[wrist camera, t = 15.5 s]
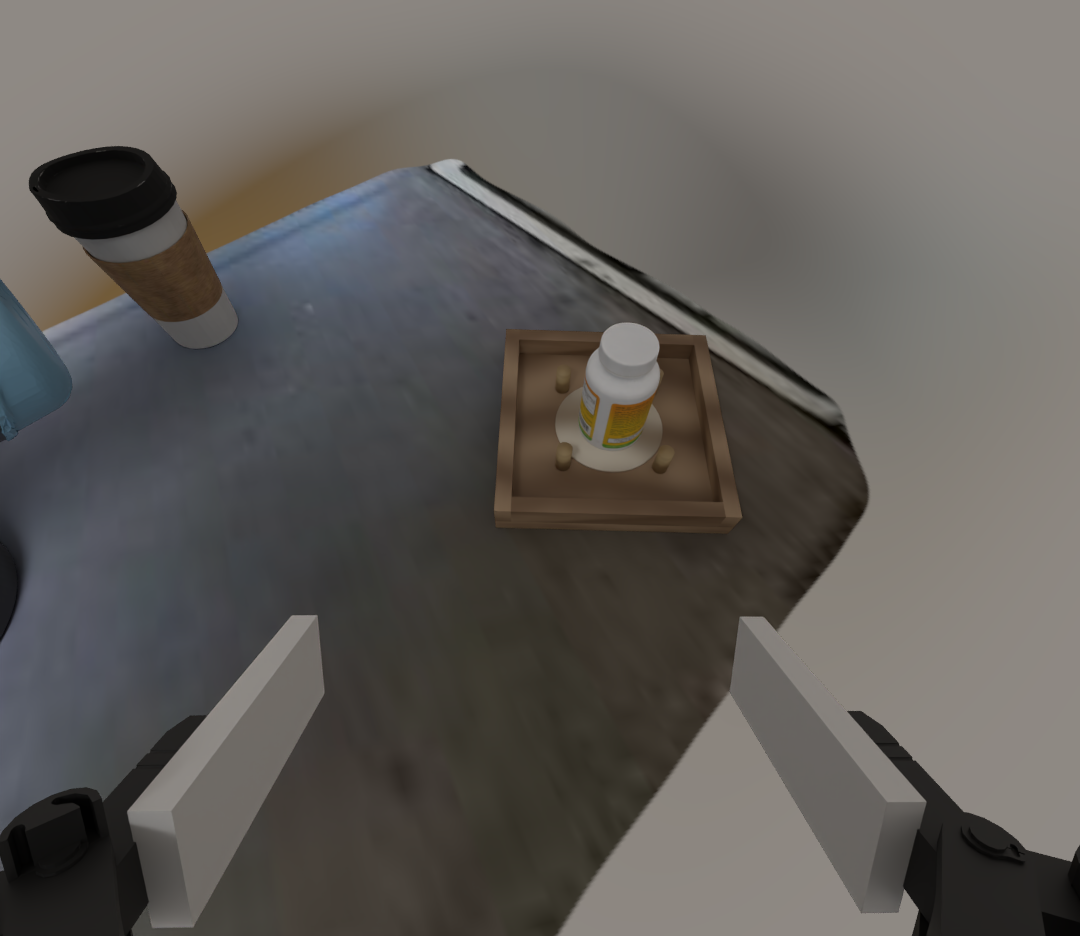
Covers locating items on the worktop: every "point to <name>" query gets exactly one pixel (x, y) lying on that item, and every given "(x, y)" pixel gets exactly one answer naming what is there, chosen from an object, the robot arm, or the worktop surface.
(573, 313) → the worktop surface
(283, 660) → the robot arm
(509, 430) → the pin tray
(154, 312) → the coffee cup
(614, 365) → the supplement bottle
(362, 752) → the worktop surface
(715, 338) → the worktop surface
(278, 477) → the worktop surface
